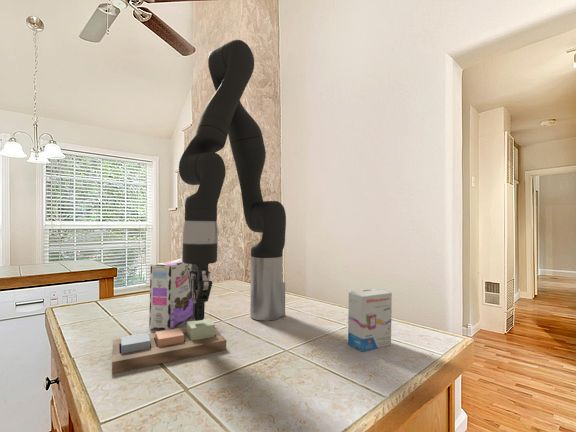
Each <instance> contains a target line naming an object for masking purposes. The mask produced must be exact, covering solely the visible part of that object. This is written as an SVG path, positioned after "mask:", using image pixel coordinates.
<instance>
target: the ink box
mask: <svg viewBox="0 0 576 432" xmlns="http://www.w3.org/2000/svg"><path fill="white" fill-rule="evenodd" d="M392 295H393V294H392V292H389V291H386V290H383V289H381V288H377V287H375V288H374V287H373V288H363V289H353V290H350V291H349V292H348V314H347V315H348V319H347V320H348V321H347V326H348V327H347V344H348V345H350V346H351V347H354V348H355V349H356V350H358V351H361V352H362V353H363V352H367V351H371V350H376V349H379V348H383V347H388V346H391V345H392V311H393V310H392V306H393V305H392V301H393V298H392V297H393V296H392Z"/></svg>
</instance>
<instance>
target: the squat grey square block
mask: <svg viewBox="0 0 576 432" xmlns="http://www.w3.org/2000/svg"><path fill="white" fill-rule="evenodd" d="M148 334H149V333H148V332H145V333H139V334H132V335H127V336H126V335H125V336H121V337H120V339H121V353H120V354H122V353H128V352H133V351H139V350H144V349H150V338H149V335H148Z"/></svg>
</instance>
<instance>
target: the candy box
mask: <svg viewBox="0 0 576 432" xmlns="http://www.w3.org/2000/svg"><path fill="white" fill-rule="evenodd" d="M191 267H192V264H185V263H183V261H182V258H178V259H174V260H169V261H165V262H159V263H154V264H150V271H149V272H150V273H149V274H150V275H149V276H150V277H149V279H150V280H149V281H150V283H149V322H148V325H149V326H148V327H149V329H152V330H160V331H163V330H169V329H175V327H177V326H179V325H180V324H182V323H184V322H185V321H186V322H187V320H189V319H190V318H193V303H194V302H192V298H191V296H190V287H189V278H188V275H189V271H191Z"/></svg>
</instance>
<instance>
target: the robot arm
mask: <svg viewBox="0 0 576 432" xmlns="http://www.w3.org/2000/svg"><path fill="white" fill-rule="evenodd" d="M207 66H208V67H207V68H208V72H209V75H210V79H211V81H212V84H213V87H214V89H215V92H214V94H213V95H212V97H210V99H209V101H208V102H207V104H206V105H205V107H204V108H203V109H204V110H203V111H202V113H201V115H200V120H199V123H198V126H197V129H196V132H195V135H194V136H193V138H192V139H191V140H190V141H189V143H188V146H187V147H186V148H185V150H184V151H183V153H182V155H181V157H180V159H179V162H178V173H179V177H180V179H181V180H182V181H183V182H184V183H185V184H186V185H190V186H198V189H197V191H196V192H194V193H193V194H191V195H188V196H187V197H186V198H185V201H184V202H185V203H184V221H183V222H184V223H183V227H182V228H183V230H182V252H181V253H182V255H181V256H182V257H181V259H182V261H183V263H185V264H192V267H191V271H189V275H188V278H189V287H190V296H191V298H192V302H194V303H193V317H192V319H193V321H200V320H203V319H205V307H206V306H205V303H207V302H208V301H209V298H210V294H211V292H212V287H213V280H211V271H210V270H209V264H215V263H216V262H217V261H218V235H219V234H218V233H219V232H218V222H217V221H218V203H219V200H220V196H221V192H222V188H223V185H224V182H225V178H226V164H225V161H224V159H223V158H222V156H220V154H218V153H217V152H219V151H222V150H223V149H224V147H225V145H226V142H227V139H228V140H229V145H230V150H231V153H232V154H231V155H232V157H233V160H234V161H233V162H234V164H235V169H236V174H237V178H238V183H239V187H240V194H241V201H242V208H243V214H244V221H245V223H246V225H247V228H249V229H250V230H251V231H252V232H254V233H261V240H260V241H259V242H258V243H257V244H254V245H252V246H251V248H250V307H249V308H250V310H249V311H250V318H251V319H254V320H257V321H275V320H279V319H281V318H282V317H286V283H285V282H284V281H283V251H284V249H285V244H286V231H287V230H286V227H287V216H286V215H287V214H286V213H287V212H286V209H285V207H284V205H283V204H282V203H281V202H280V201H278V200H264V199H263V194H262V189H261V179H262V175H263V170H264V167H265V162H266V158H267V157H266V156H267V152H266V145H265V142H264V137H263V133H262V130H261V128H260V126H259V124H258V123H257V122H256V120H255V119H254V118H253V117H252V115H251V114H250V113H249V112H248V111H247V110H246V109H245V107H244V106H243V104H242V102H241V98H242V96H243V94H244V92H245V90H246V88H247V85H248V83H249V81H250V79H251V77H252V75H253V72H254V69H255V57H254V54H253V51H252V48H250V46H249V45H248V44H247V43H246V42H245V41H244V40H241V39H233V40H230V41H228V42H226V43H224V44H222V45H220V46H218V47H216V48H214V49H212V50H211V51H210V52H209V54H208V57H207Z"/></svg>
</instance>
